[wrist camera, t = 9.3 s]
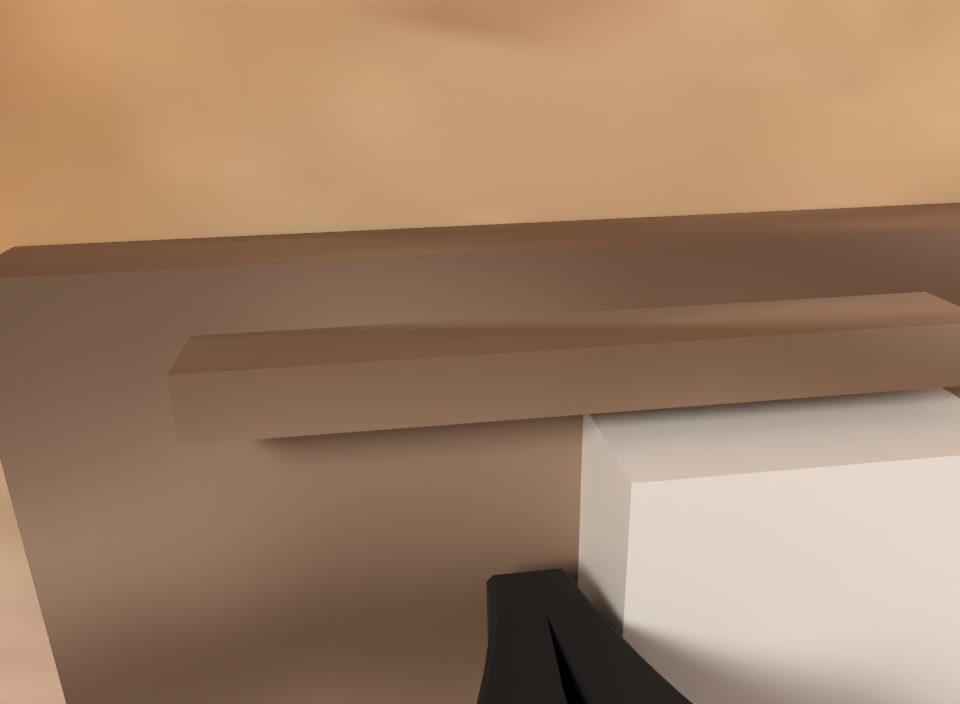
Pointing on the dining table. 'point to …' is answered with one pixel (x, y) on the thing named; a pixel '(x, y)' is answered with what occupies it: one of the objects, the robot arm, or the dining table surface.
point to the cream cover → (781, 545)
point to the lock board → (396, 422)
